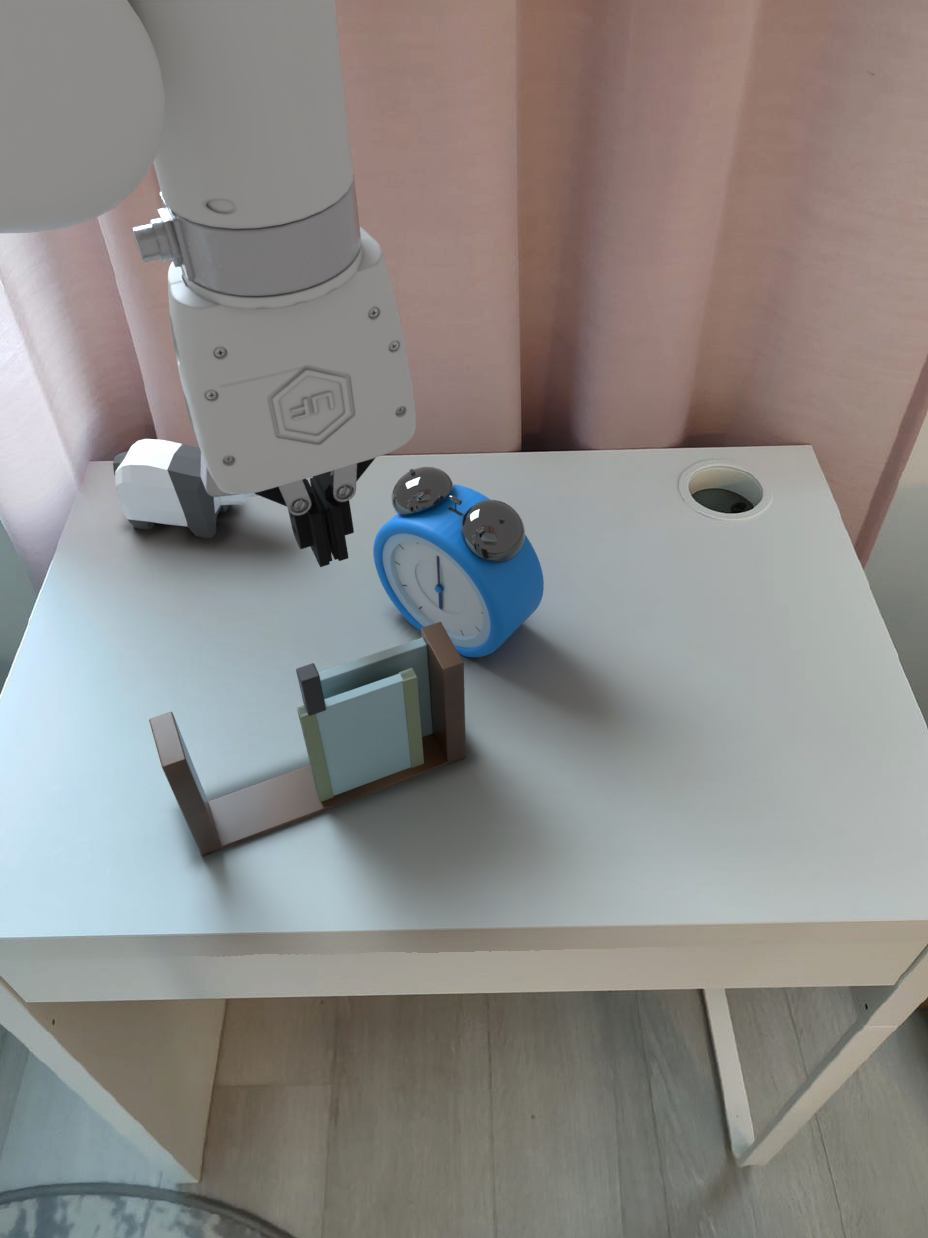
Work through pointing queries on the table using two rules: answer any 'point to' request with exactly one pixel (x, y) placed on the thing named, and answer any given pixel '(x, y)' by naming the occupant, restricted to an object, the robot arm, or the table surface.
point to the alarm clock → (457, 562)
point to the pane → (360, 730)
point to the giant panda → (167, 487)
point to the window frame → (296, 789)
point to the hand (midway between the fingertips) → (325, 545)
